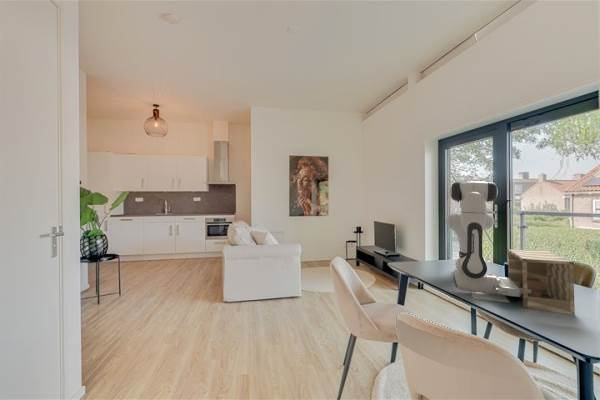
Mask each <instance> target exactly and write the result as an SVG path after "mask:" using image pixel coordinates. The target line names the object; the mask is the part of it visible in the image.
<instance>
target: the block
mask: <svg viewBox="0 0 600 400" xmlns="http://www.w3.org/2000/svg"><path fill="white" fill-rule="evenodd" d="M527 288H528V289H531V293H528V296H529V297H539V298H542V296H541V295H542V294H541V287H540V280H539V279H537V278H531V277H527Z"/></svg>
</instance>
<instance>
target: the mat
mask: <svg viewBox="0 0 600 400" xmlns="http://www.w3.org/2000/svg"><path fill="white" fill-rule="evenodd" d="M470 294H471V297H472V298H473V299H475V300H476V299H477V300H484V301H485V300H486V301H494V302H495V301H496V302H502V303H510V300H509V299H508V298H507V297H506V295H503V294H500V293H499V292H498V293H497V295H495V294H486V293H482V292H470Z"/></svg>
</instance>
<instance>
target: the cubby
mask: <svg viewBox="0 0 600 400" xmlns="http://www.w3.org/2000/svg"><path fill="white" fill-rule="evenodd" d="M507 262H508V263H507V266H508V278H510V279H511V280H512V281H515V282H519V283H523V287H519V286H518V287H519V288H522V289H523V294H522V297H523V299H522V300H523V301H522V302H523V309H526V310H534V311H542V312H543V311H544V312H552V313H559V314H566V315H567V314H569V315H575V314H576V312H575V310H576V309H575V308H576V307H575V279H574V277H575V276H574V275H575V274H574V273H575V272H574V271H575V270H574V261H572V260H570V259H568V258H565V257H563V256H561V255H559V254H557V253H554V252H552V251H550V250H535V249H534V250H533V249H511V248H508V249H507ZM527 277H531V278H537V279H539V280H540V287H541V295H544V296H545V295H546V296H548V297H550V298H547V297H541V298H539V297H529V296H528V292H527Z"/></svg>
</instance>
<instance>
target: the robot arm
mask: <svg viewBox="0 0 600 400" xmlns="http://www.w3.org/2000/svg"><path fill="white" fill-rule="evenodd" d="M498 189H499V188H498V187H497V184H496V183H495V182H490V181H487V182H485V181H479V180H478V181H477V180H476V181H473V180H472V181H462V182H460V181H457V182H453V183H452V184H451V186H450V188H449V195H450V197H451V200H452V201H455V202H457V203H459V209H460V212H453V213H452V212H451V213H449V214H448V215H447V216H446V218H445V224H446V226H447V227H448V228H449V229H450V230H452V231H453V232H454V233H455V235H456V236H457V238H458V243H459V251H458V258H457V260H456V261H455V269H454V270H453V271H452V272H453V273H452V274H453V282H454V285H455V287H456V288H457V289H458V290H460V291H463V292H468V293H469V292H470V293H471V292H482V293H486V294H495V295H497V293H498V292H499V293H500V294H503V295H505V296H509V297H516V298H517V297H518V298H520V297H522V295H523V289H522V288H519V287H523V283H519V282H515V281H512V280H511V279H510V278H509V277H507V276H506V277H505V276H499V275H494V274H490V273H489V274H488V273H487V272H488V266H487V263H486V261H485V259H484V255H483V235H484V231H487V230H491V229H492V228H493V227H494V224H495V219H494V216H493V215H491V214H490V213H488V212H487V205H486V204H487V203H489V202H493V201H495V200H496V199H497V198H498V195H499V190H498ZM486 202H487V203H486ZM518 286H519V287H518ZM527 292H528V293H531V289H528V288H527Z"/></svg>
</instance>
